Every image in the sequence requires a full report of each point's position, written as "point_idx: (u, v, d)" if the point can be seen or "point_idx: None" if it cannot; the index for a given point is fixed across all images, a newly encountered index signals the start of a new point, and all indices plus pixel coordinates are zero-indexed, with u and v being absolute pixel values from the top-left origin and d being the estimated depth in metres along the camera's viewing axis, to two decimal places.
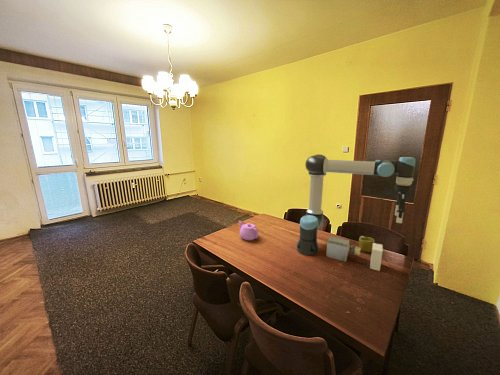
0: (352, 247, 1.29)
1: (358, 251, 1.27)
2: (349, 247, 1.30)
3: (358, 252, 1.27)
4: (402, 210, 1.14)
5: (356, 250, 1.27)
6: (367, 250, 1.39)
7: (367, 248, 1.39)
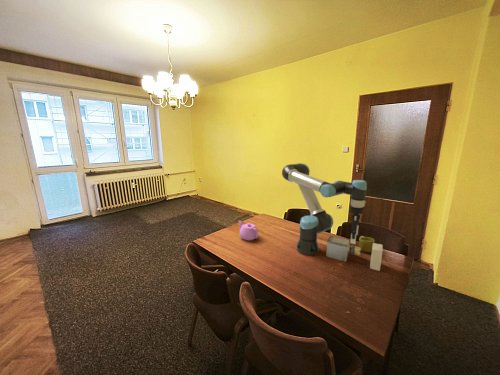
0: (352, 247, 1.29)
1: (358, 251, 1.27)
2: (349, 247, 1.30)
3: (358, 252, 1.27)
4: (354, 232, 1.19)
5: (356, 250, 1.27)
6: (367, 250, 1.39)
7: (367, 248, 1.39)
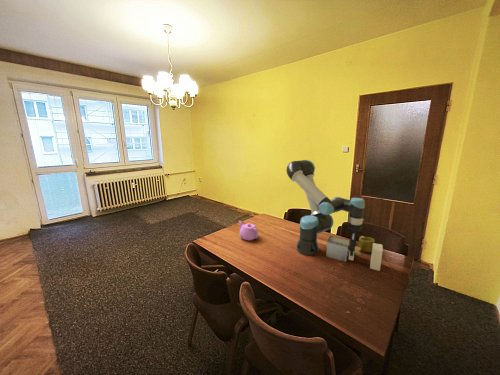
0: None
1: (358, 251, 1.27)
2: (349, 247, 1.30)
3: (358, 252, 1.27)
4: (352, 250, 1.25)
5: (356, 250, 1.27)
6: (367, 250, 1.39)
7: (367, 248, 1.39)
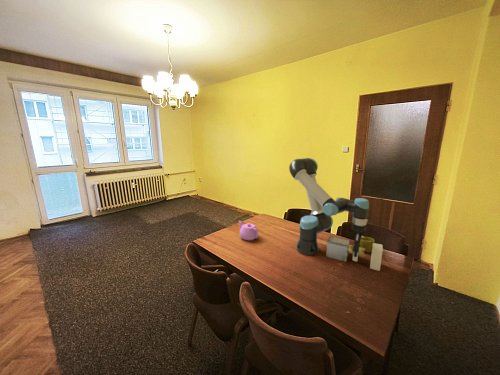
0: None
1: (362, 252, 1.26)
2: (353, 248, 1.29)
3: (362, 253, 1.26)
4: (356, 251, 1.24)
5: (360, 251, 1.26)
6: (367, 250, 1.39)
7: (367, 248, 1.39)
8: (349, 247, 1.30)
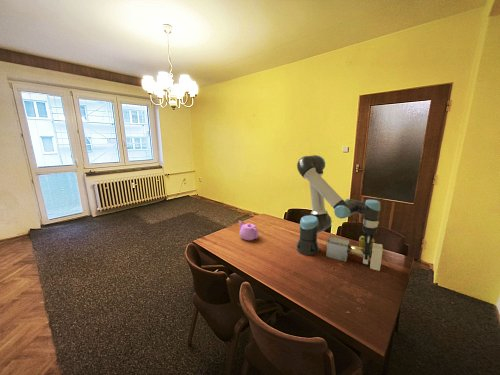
0: None
1: None
2: (363, 250, 1.26)
3: None
4: (367, 253, 1.21)
5: (371, 254, 1.23)
6: None
7: None
8: (359, 249, 1.27)
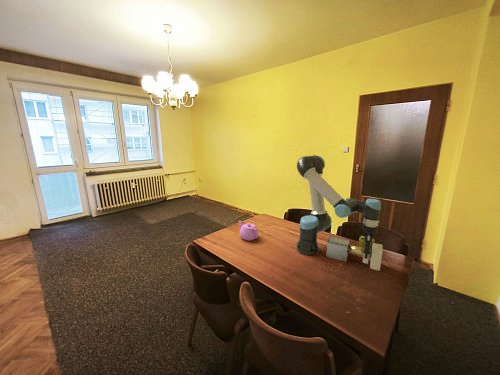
0: None
1: None
2: (363, 250, 1.26)
3: None
4: (367, 252, 1.17)
5: (371, 254, 1.23)
6: None
7: None
8: (359, 249, 1.27)
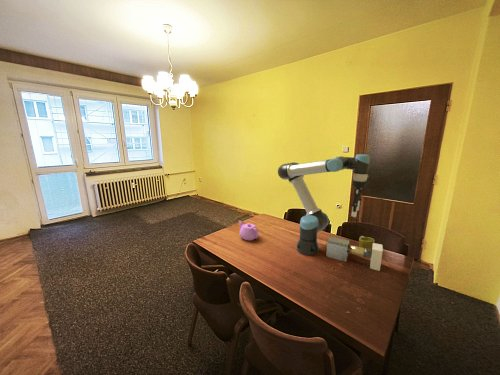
0: (367, 250, 1.25)
1: None
2: (363, 250, 1.26)
3: None
4: (355, 204, 1.21)
5: (371, 254, 1.23)
6: None
7: (367, 248, 1.39)
8: (359, 249, 1.27)
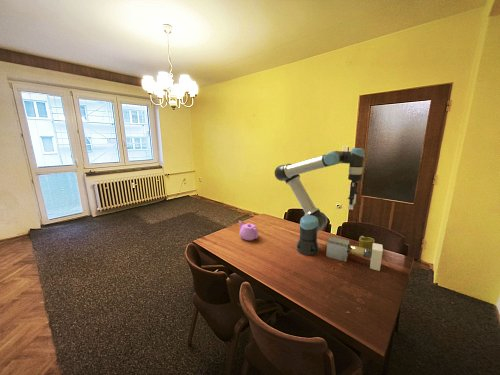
0: (367, 250, 1.25)
1: None
2: (363, 250, 1.26)
3: None
4: (352, 197, 1.23)
5: (371, 254, 1.23)
6: None
7: (367, 248, 1.39)
8: (359, 249, 1.27)
